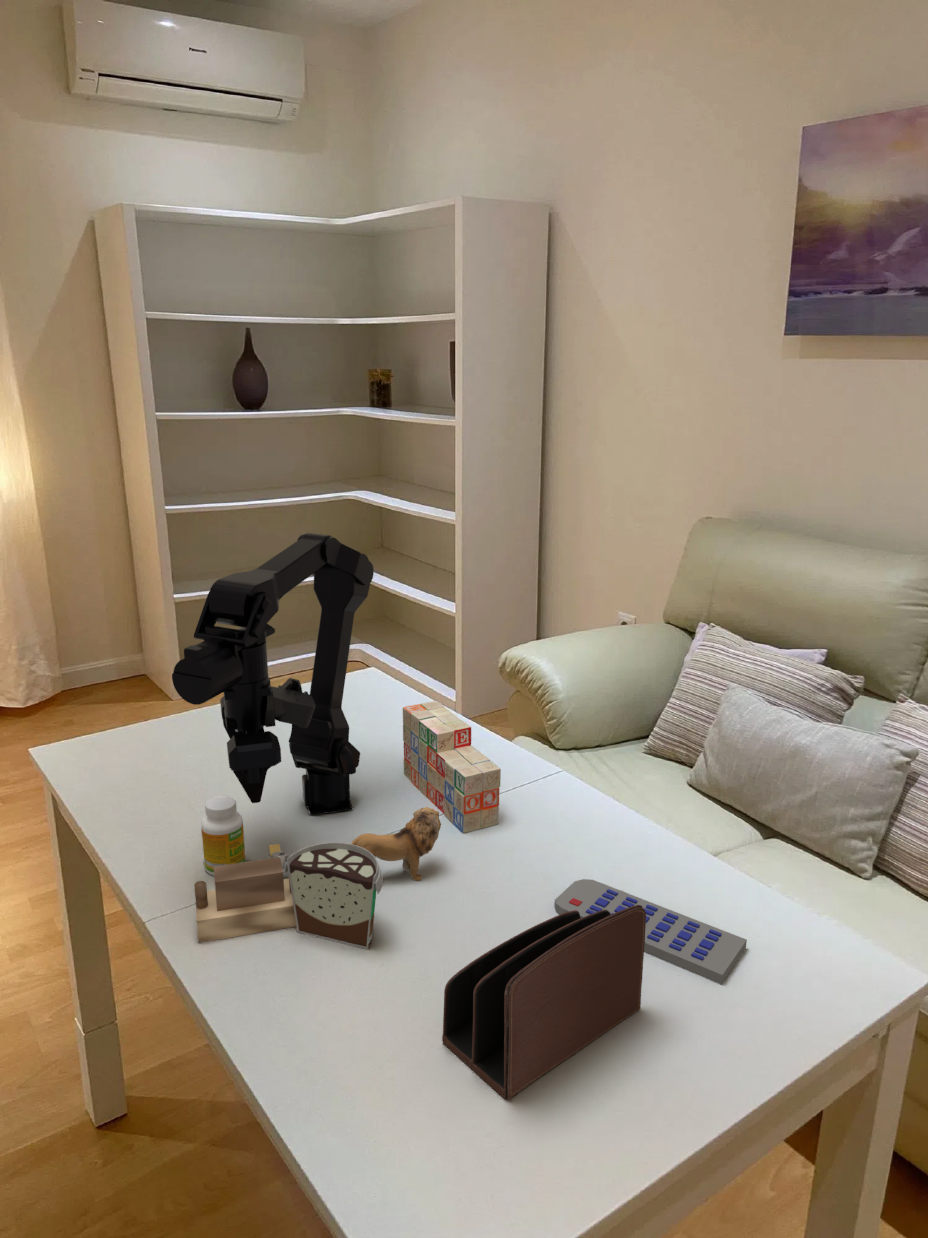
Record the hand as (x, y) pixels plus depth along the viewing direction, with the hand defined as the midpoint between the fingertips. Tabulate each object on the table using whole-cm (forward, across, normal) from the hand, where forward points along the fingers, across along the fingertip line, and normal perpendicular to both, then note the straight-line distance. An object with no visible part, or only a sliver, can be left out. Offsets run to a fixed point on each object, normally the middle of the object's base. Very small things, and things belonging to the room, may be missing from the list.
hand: (252, 785), depth 121 cm
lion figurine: (+12, -8, -17) cm, 22 cm away
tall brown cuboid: (+9, -12, +2) cm, 15 cm away
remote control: (+13, -28, -44) cm, 54 cm away
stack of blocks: (+12, +11, -30) cm, 34 cm away
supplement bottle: (+12, 0, +4) cm, 13 cm away
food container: (+12, -17, -9) cm, 23 cm away
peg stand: (+12, -12, +2) cm, 17 cm away
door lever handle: (+12, -3, -2) cm, 12 cm away
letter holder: (+12, -40, -26) cm, 49 cm away
